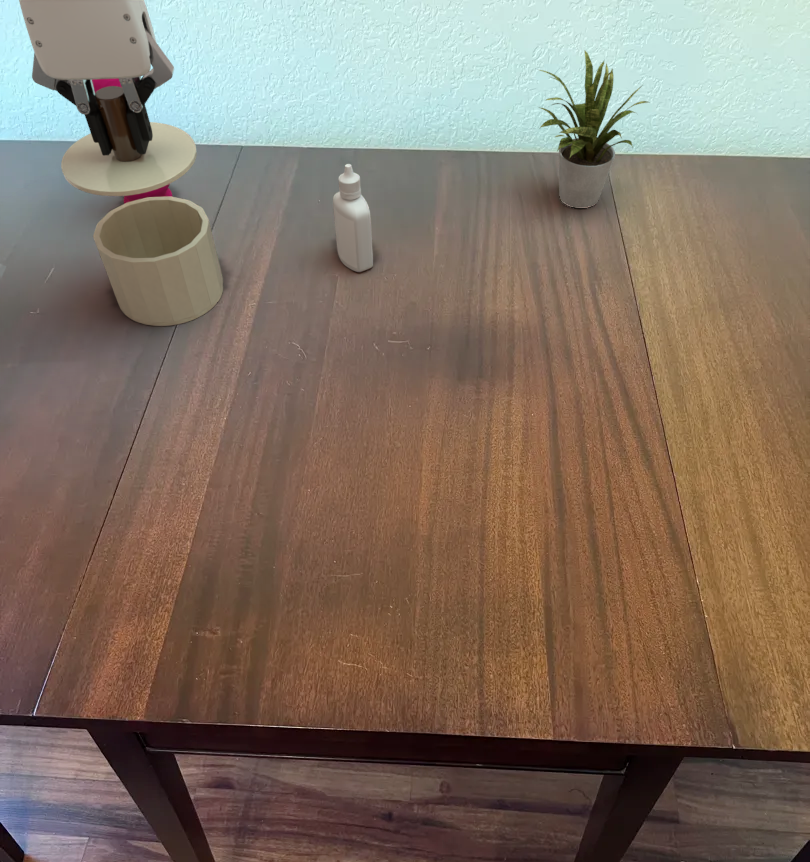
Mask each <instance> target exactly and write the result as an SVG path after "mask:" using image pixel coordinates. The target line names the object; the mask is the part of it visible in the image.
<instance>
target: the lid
mask: <svg viewBox="0 0 810 862" xmlns="http://www.w3.org/2000/svg"><path fill="white" fill-rule="evenodd" d="M95 98H96V101H97V104H98V107H99V110H100V113H101V116H102V119H103V122H104V125H105V128H106V131H107V134H108V137H109V141H110V144H111V147H112V151H111V154H109V155H105V156H103V155H102V152H101V149H100V146H99V143H95V142H94V141H93V138H92V135H91V132H89V133H88V134H87V135H84V136H83V137H81V138H80V139H78V140H77V141H75V142H74V143H73V144H71V145H70V147H68V149H66V151H65V153H64V154H63V156H62V159H61V163H60V168H61V172H62V175H63V176H64V179H65V180H66V182H68V184H69V185H70V186H72V187H74V188H75V189H78V190H79V191H82V192H84V193H88V194H91V195H97V196H102V197H124V196H128V195H135V194H141V193H145V192H149V191H152V190H156V189H158V188H161V187H164V186H166V185H168V184H172V183H174V182H176V181H177V180H179V179H181V178H182V177H183V176H184V175H186V173H188V172H189V171H190V169H192V167H193V166H194V164H195V162H196V159H197V155H198V151H197V145H196V143H195V140H194V139H193V137H192V136H191V135H190V134H189V133H188V132H186V131H185V130H183V129H181V128H179V127H177V126H175V125H171V124H167V123H162V122H155V121H150V125H151V128H152V133H153V138H152V141H149V144H148V147H147V150H146V154H139V153H137V150H136V147H135V143H134V140H133V137H132V134H131V130H130V127H129V124H128V120H127V116H126V114H127V111H128V106H127V103H128V102H127V100H126V97H125V94H124V92H123V89H122V88H121V87H118V86H108V87H104V88H101V89H99V90H98V91H97V92H96V93H95Z"/></svg>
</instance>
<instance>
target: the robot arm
mask: <svg viewBox="0 0 810 862" xmlns="http://www.w3.org/2000/svg"><path fill="white" fill-rule="evenodd" d="M18 1H19V6H20V9H21V10H20V11H21V13H22V18H23V20H24V24H25V27H26V30H27V34H28V38H29V40H30V43H31V46H32V49H33V52H34V53H33V63H32V70H31V71H32V73H31V78H32V81H33V82H34V83H35V84H37V85H40V86H42V87H44V88H46V89H49V90H52V91H56V92H57V94H59V95H60V96H62V97H63V98H64V99H66V101H69V102H70V103H71V104H72V105H74V106H75V107H76V110H77V111H78V112H79V113H80V114H81V115H84V118H85V120H86V123H87V126H88V129H89V133H91V135H92V138H93V141H94V142H95V143H99V146H100V149H101V152H102V155H103V156H105V155H109V154H111V151H112V147H111V144H110V141H109V137H108V134H107V131H106V128H105V125H104V122H103V119H102V116H101V113H100V110H99V107H98V104H97V101H96V98H95V91H94V87H93V83H92V79H117V78H119V81H120V84H121V86H122V89H123V92H124V94H125V97H126V100H127V102H128V103H127V106H128V111H127V114H126V116H127V120H128V124H129V127H130V130H131V134H132V137H133V140H134V143H135V147H136V150H137V153H139V154H146V150H147V147H148V144H149V141H152V138H153V133H152V128H151V125H150V122H151V121H150V118H149V114H148V110H147V108H146V103H147V102H148V100H149V98H150V97H151V96H152V94H153V92H154V91H155V90H156V89H158V88H160V87H161V86H163V85H164V84H166V83H168V81H170V80H171V79H172V78H173V75H174V72H175V66H174V64H173V63H172V62H171V60H170V59H169V58H168V57H167V55H166V54H165V53H164V51H163V50H162V48H161V47H160V46H159V44H158V43H157V39H156V35H155V32H154V31H155V30H154V28H153V25H152V21H151V17H150V14H149V12H148V8H147V5H146V2H145V0H18Z"/></svg>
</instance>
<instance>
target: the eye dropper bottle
mask: <svg viewBox="0 0 810 862" xmlns="http://www.w3.org/2000/svg"><path fill="white" fill-rule="evenodd" d="M352 166H353V165H352V164H350V163H346V164H345V165H344V170H343V171H344V172H343V173H341V174H340V175H339V176H338V190H339V191H337V192H336V193H334V195H333V197H332V208H333V209H332V210H333V220H334V230H335V241H336V252H337V255H338V258H339V260H340V262H341V263H342V264H343V265H344V266H345V267H347V268H348V269H350V270H351V271H354V272H357V273H362V272H364V271H367V270H370V269H371V268H373V267H374V251H373V236H372V235H373V234H372V219H371V217H372V216H371V210H370V207H369V203H368V202H367V200H366V199H365V197H364V196H363V195H362V189H361V177H360V175H359V174H358V173H356V172H354V169H353V167H352Z"/></svg>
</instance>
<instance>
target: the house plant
mask: <svg viewBox="0 0 810 862" xmlns="http://www.w3.org/2000/svg"><path fill="white" fill-rule="evenodd" d="M584 60H585V61H584V62H585V76H584V92H585V93H584V94H585V99H584V102H583V103H576V104H575V102H574V99H573V97H572V95H571V93H570V90H569V89H568V87H567V85H566V84H565V83H564V81H563V80H562V79H561V78H560V77H559V76H558V75H556V74H554V73H552V72H549V71H548V70H547V71H546V70H543V69H537V70H538V71H540V72H543V73H545V74H547V75H550V76H551V77H550V76H549V77H550V78H551V79H553V80H555V81H558V82H559V83H560V84H561V85H562V86H563V88H564V90H565V92H566V94H567V95H568V97H569V98H568V99H570V102H571V103H570V102H569V101H566V100H565V99H563V98H562V97H557V96H555V97H548V98H546V99H545V101H564V102H566V104H568V105H569V106H568V105H566V104H564V103H560V102H556V103H555V102H554V103H552V104H551V106H553V105H561V106H562V107H564V108H565V109H566V111H567V113H568V114H569V116H570V119H571V120H572V123H573V127H571V126H570V125H569V124H568V123H567V122H566V121H564V120H561V119H558V117H557V116H556V114H555V113H554V112H553V111H551V110H549V109H547V108H545V107H540V106H538V108H539V109H541V110H543V111H545V112H547V113H548V114H549V116H551V117H552V118H550V119H547V120H545V121H544V122H543V123H542V124H541V125H540V127H539V128H538V130H540V129H541V128H545V127H550V126H558V127H559V128H560V129H561V131H560V132H559V133H560V134H557V135H555V136H554V138H558V137H560V138H561V137H562V138H561V139H560V140H559V143H558V147H557V150H556V152H558V197H559V196H560V198H559V200H560V199H561V200H562V201H563V202H565V203H566V204H568V205H570V206H573V207H588V206H592V205H594V204H596V203H597V202H598V203H599V201H598V200H600V198H601V196H602V193H603V190H604V188H605V184H606V183H607V180H608V176H609V174H610V171H611V168H612V166H613V163H614V161H615V158H616V150H615V149H614V146H616V145H618V144H621V143H622V144H628V145H630V146H631V147H632V148H634V147H633V142H632V140H630V139H623V138H622V133H621V132H620V131H619V130H616V129H611V128H613V126H614V125H615V124H616V123H618V122H619V121H620V120H622V119H623V118H624V117H627V115H630V114H632V113H634V114H637V115H638V113H637V112H636V111H633V110H630V108H632V107H635V106H637V105H641V104H647V103H651V102H650V101H647V100H640V101H637V102H635V103H634V104H632V105H631V106H629V107H627V109H625V110H622V111H621V112H620V110H621V109H622V108H623V107H624V106H625V105H627V103H628V102H629V101H630V100H631V99H632V98H633V96H634V95H635V94H636V93H637V92H638V91H639V90H640V89H641V88H642V87H643V85H641V86H639V87H638V88H637V89H636V90H634V91H633V92H632V93H631V94H630V95H629V96H628V98H627V99H626V100H625V101H624V102H623V103H622V104H621V105H620V107H618V108H617V109H616V110H615V112H614V113H613V115H612V116H611V117H610V118H609V120H608V121H607V122H606V124H605V125H604V127H603V129H602V130H601V131H600V129H601V126H602V123H603V121H604V119H605V116H606V113H607V110H608V107H609V103H610V99H611V97H612V93H613V90H614V69H613V68H611V70H610V72H609V67H608V63H607V62H606V65H605V60H603V61H602V62H601V63H600V65H599V66H598V68H597V70H596V72H595V76H594V66H593V62H592V59H591V58H590V55H589V53H588V52H587V50H584ZM604 65H605V68H604ZM603 68H604V69H605V71H604V75H603V78H602V73H603ZM601 79H602V83H601V85H600V81H601ZM599 85H600V87H599ZM598 88H599V89H598ZM571 109H572V110H571ZM573 112H574V113H573ZM618 112H619V113H618ZM574 114H575V115H574ZM575 116H576V118H575ZM638 116H639V115H638ZM576 119H577V120H576ZM577 122H578V123H577ZM564 126H565V127H567V128H565V127H564ZM599 131H600V133H599ZM564 134H565V135H564ZM570 134H573V136H574V138H572V137H571V135H570ZM576 135H577V136H576ZM617 136H619V137H620V138H621V140H620V141H617V142H615V143H613V144H609V143H608V142H610V141H611V140H612V139H614V138H615V137H617ZM598 203H597V204H598ZM597 204H596V205H597Z"/></svg>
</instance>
